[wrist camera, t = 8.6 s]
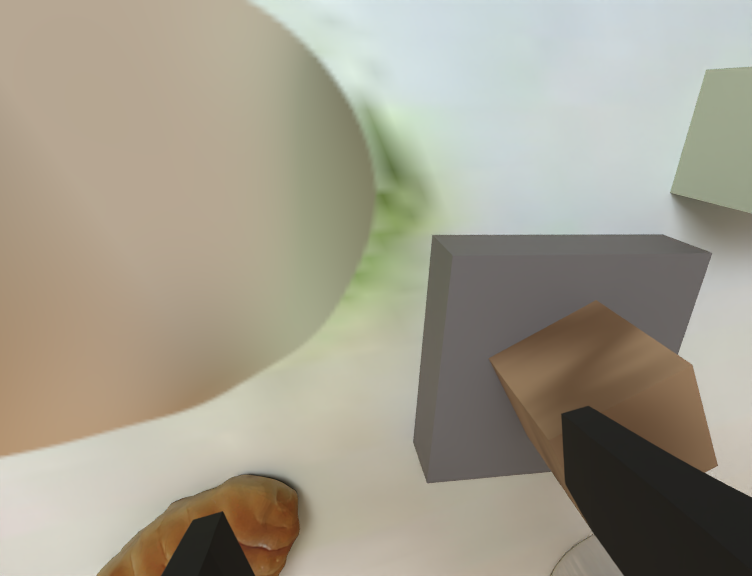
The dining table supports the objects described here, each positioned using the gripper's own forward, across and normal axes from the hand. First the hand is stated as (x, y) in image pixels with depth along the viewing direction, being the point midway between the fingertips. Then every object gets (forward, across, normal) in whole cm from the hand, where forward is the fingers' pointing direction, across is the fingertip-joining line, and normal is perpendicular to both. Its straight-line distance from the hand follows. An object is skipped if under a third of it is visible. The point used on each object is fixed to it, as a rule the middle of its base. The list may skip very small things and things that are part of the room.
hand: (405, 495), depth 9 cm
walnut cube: (+7, -7, +4) cm, 11 cm away
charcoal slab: (+10, -7, +4) cm, 13 cm away
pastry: (+10, +10, +10) cm, 17 cm away
